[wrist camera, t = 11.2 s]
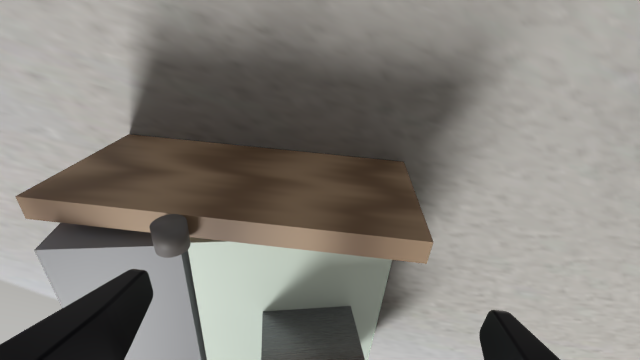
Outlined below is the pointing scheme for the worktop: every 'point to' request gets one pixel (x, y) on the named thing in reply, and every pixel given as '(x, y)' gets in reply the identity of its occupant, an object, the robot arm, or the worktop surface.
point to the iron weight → (310, 334)
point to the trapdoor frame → (239, 198)
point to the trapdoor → (212, 288)
